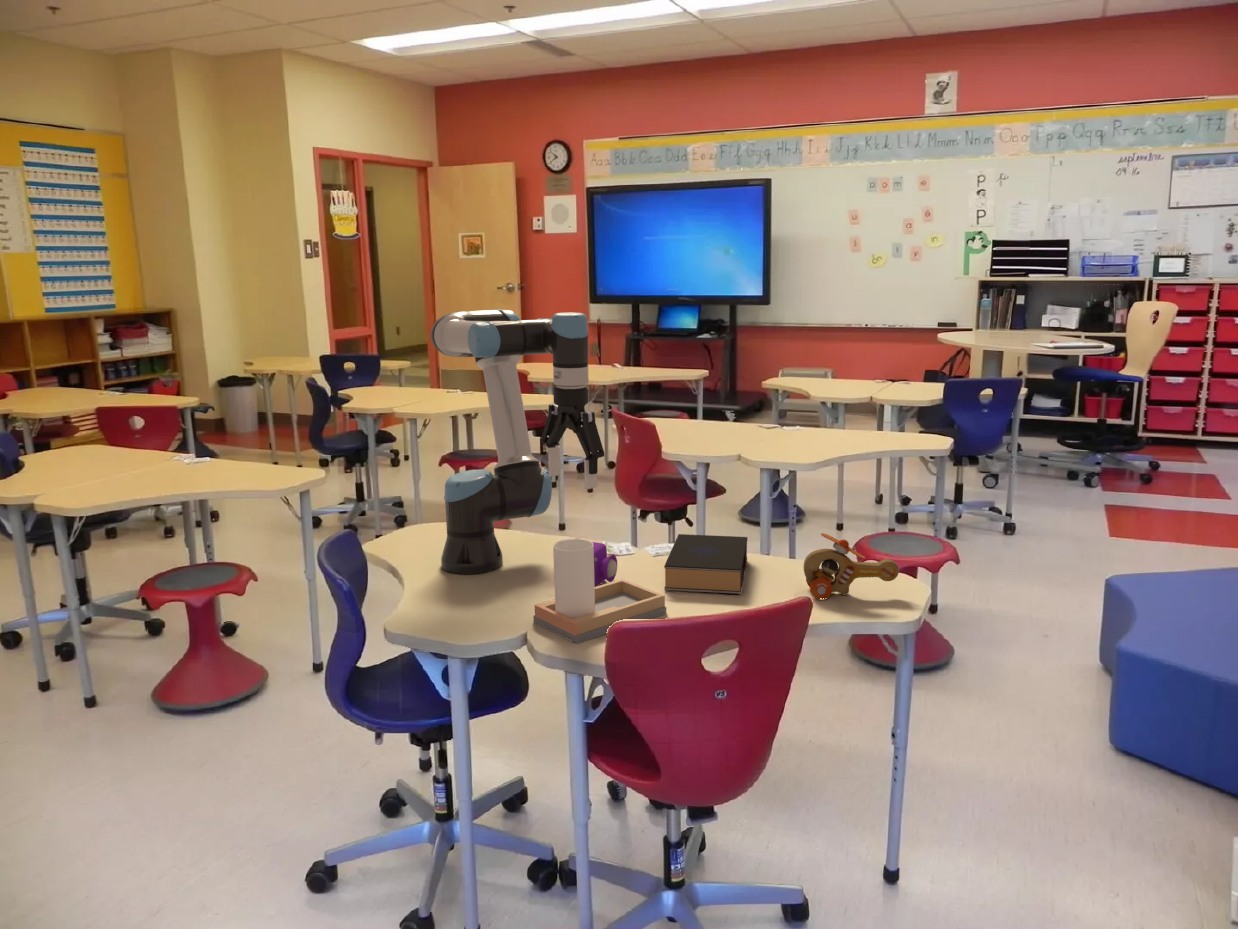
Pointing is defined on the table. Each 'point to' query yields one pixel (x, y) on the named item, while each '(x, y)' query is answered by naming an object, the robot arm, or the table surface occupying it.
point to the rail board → (603, 611)
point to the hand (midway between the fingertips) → (572, 481)
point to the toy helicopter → (841, 569)
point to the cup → (574, 577)
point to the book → (706, 564)
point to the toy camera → (603, 564)
